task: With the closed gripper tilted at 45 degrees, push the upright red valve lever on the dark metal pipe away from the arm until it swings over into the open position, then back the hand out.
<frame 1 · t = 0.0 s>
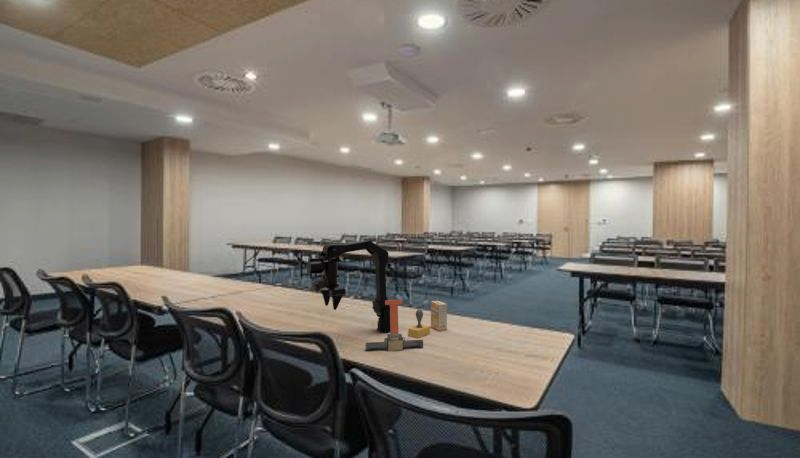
hand: (330, 307, 171), 15 cm above the table, tool pointing down, fingers open, 9 cm apart
pipe valve: (394, 348, 162), on the table
valve lever: (394, 318, 162), point 12 cm above the table, hinge at -10.0°
rubber stamp: (419, 335, 181), on the table
supplement box: (438, 329, 191), on the table
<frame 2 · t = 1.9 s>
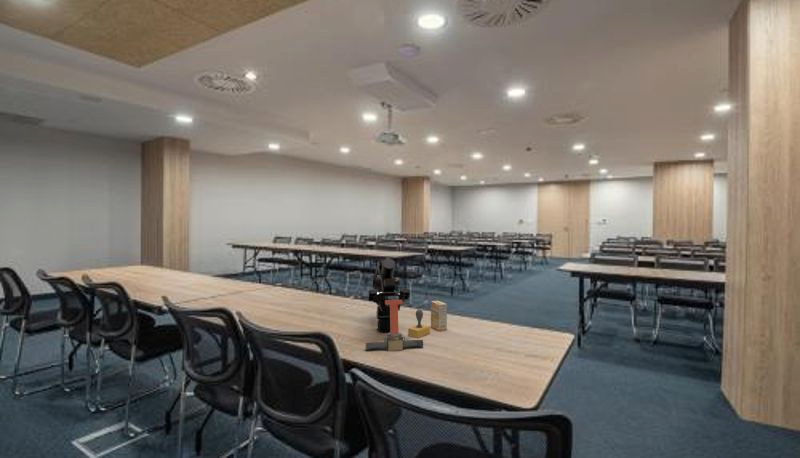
hand: (390, 310, 171), 14 cm above the table, tool tilted 45°, fingers open, 7 cm apart
nothing on the table moved.
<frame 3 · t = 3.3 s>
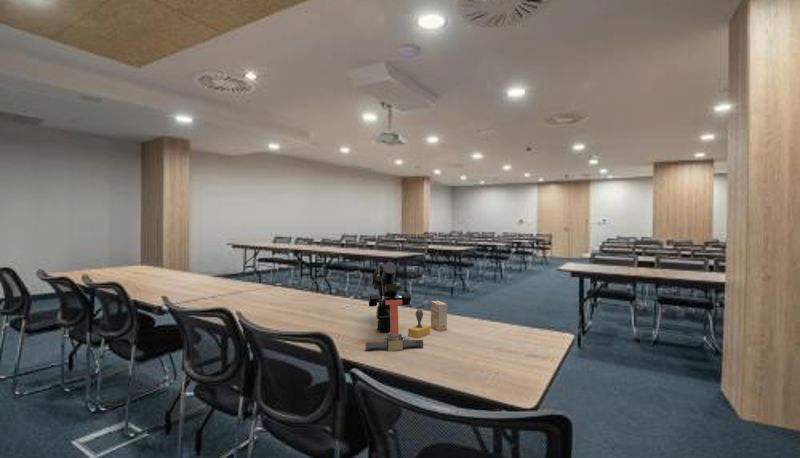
hand: (391, 316, 168), 12 cm above the table, tool tilted 45°, fingers closed
nothing on the table moved.
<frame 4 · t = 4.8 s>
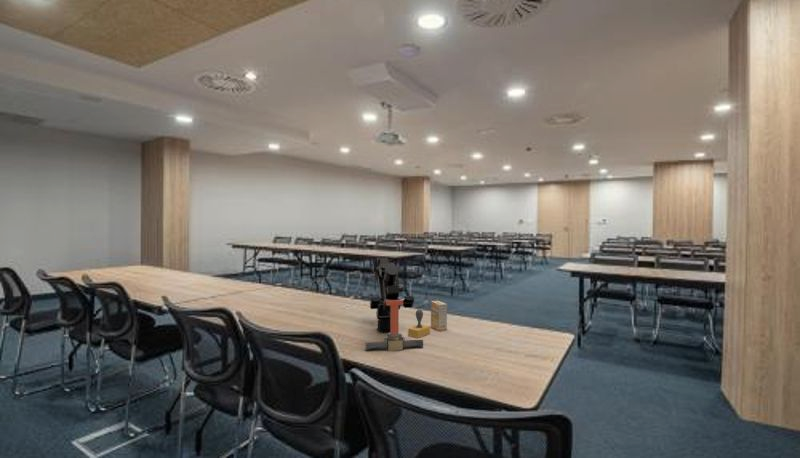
hand: (394, 319, 162), 12 cm above the table, tool tilted 45°, fingers closed, pressing on valve lever
valve lever: (394, 319, 162), point 12 cm above the table, hinge at -2.4°, touching gripper
everything else where it was.
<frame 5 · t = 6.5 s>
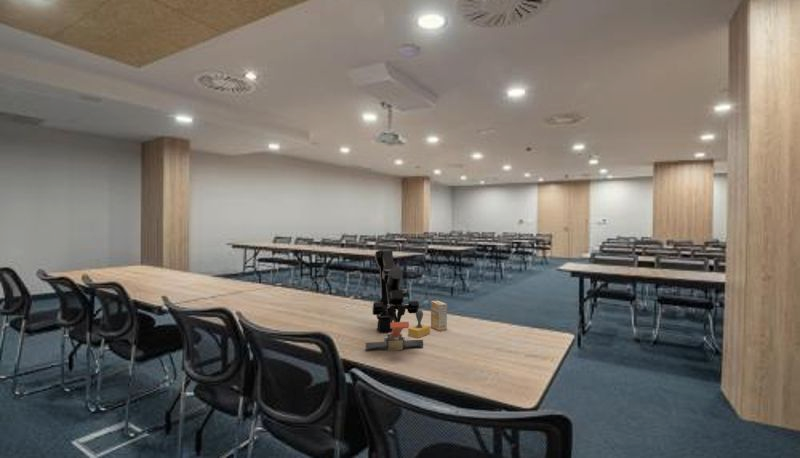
hand: (398, 326, 153), 12 cm above the table, tool tilted 45°, fingers closed, pressing on valve lever
valve lever: (397, 330, 156), point 9 cm above the table, hinge at 56.9°, touching gripper
everything else where it was.
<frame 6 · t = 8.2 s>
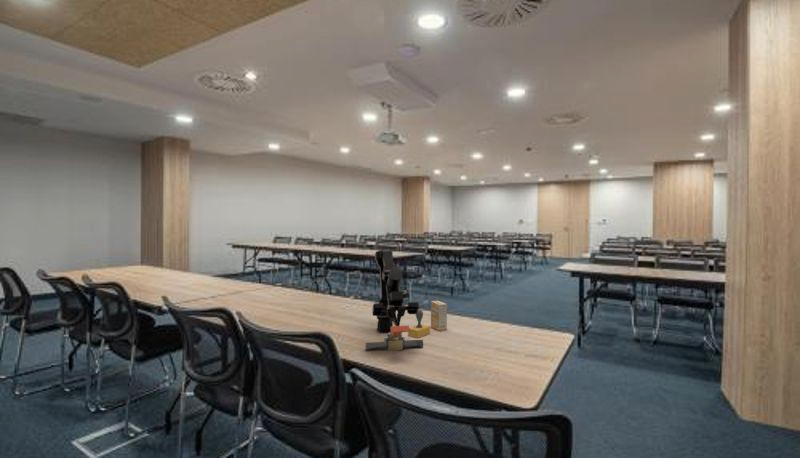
hand: (398, 327, 153), 11 cm above the table, tool tilted 45°, fingers closed
valve lever: (397, 332, 155), point 9 cm above the table, hinge at 63.0°
everything else where it was.
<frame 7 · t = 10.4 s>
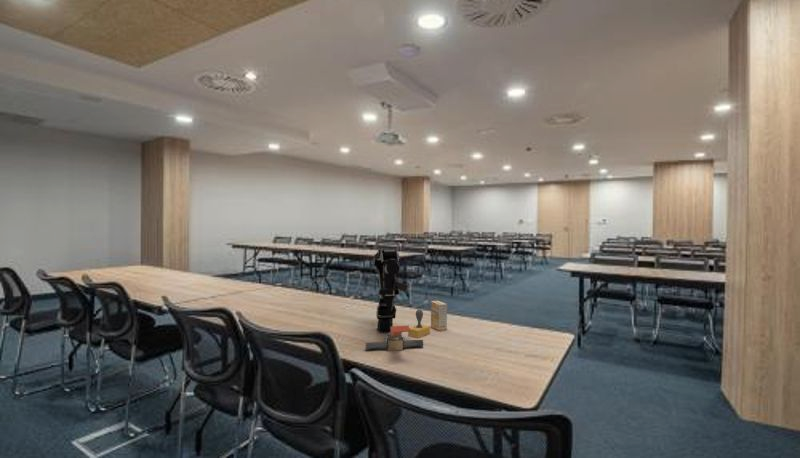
hand: (390, 311, 172), 13 cm above the table, tool pointing down, fingers closed
nothing on the table moved.
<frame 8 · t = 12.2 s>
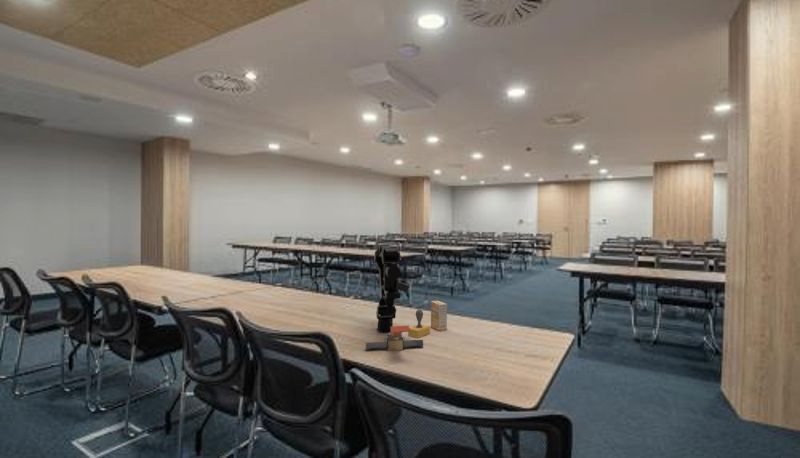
hand: (390, 310, 173), 13 cm above the table, tool pointing down, fingers closed
nothing on the table moved.
at the end: valve lever at +63° (first picture: -10°) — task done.
